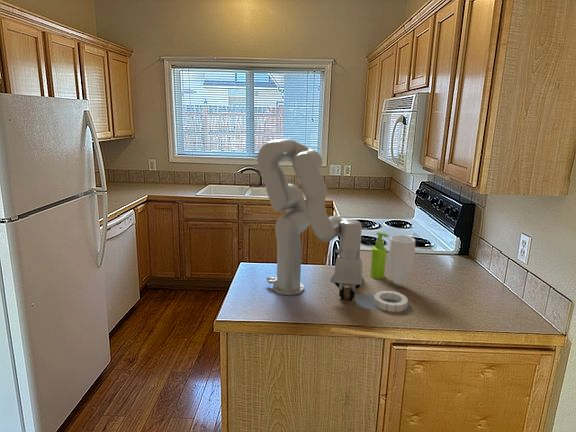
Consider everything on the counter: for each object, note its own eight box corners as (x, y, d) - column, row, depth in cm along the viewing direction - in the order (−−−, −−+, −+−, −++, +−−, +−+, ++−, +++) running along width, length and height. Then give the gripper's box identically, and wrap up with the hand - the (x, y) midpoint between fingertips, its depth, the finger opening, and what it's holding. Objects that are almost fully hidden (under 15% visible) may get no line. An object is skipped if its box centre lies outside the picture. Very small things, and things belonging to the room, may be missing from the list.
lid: (337, 304, 150) (338, 289, 149) (338, 297, 156) (339, 282, 155) (354, 306, 149) (355, 291, 147) (355, 298, 155) (356, 284, 153)
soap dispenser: (380, 280, 172) (383, 236, 167) (367, 275, 178) (370, 232, 172) (388, 277, 176) (392, 233, 171) (376, 272, 181) (379, 230, 176)
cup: (393, 295, 159) (398, 243, 153) (380, 284, 168) (384, 235, 163) (416, 292, 161) (421, 241, 156) (402, 282, 171) (407, 234, 166)
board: (354, 310, 146) (354, 307, 146) (355, 295, 158) (355, 293, 157) (411, 316, 142) (411, 313, 142) (408, 301, 154) (408, 298, 154)
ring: (374, 309, 145) (374, 303, 144) (373, 295, 156) (374, 289, 155) (408, 313, 142) (409, 306, 142) (405, 298, 154) (406, 292, 153)
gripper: (326, 254, 146) (324, 300, 150) (372, 258, 142) (368, 305, 147) (328, 248, 153) (326, 292, 157) (372, 251, 150) (368, 296, 154)
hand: (346, 298), depth 152 cm, fingers closed on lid, 3 cm apart
